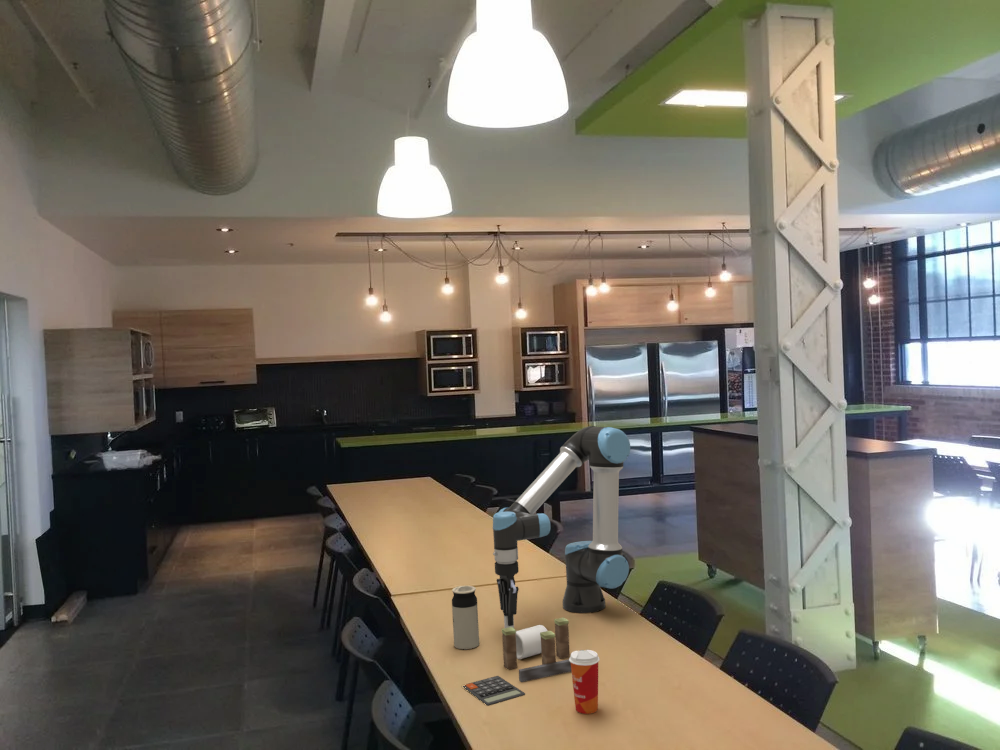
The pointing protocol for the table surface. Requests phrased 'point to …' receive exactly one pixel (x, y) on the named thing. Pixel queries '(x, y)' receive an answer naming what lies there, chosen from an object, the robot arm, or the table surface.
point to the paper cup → (585, 680)
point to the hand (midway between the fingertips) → (509, 634)
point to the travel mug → (465, 617)
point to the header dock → (547, 649)
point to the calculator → (493, 690)
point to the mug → (529, 641)
